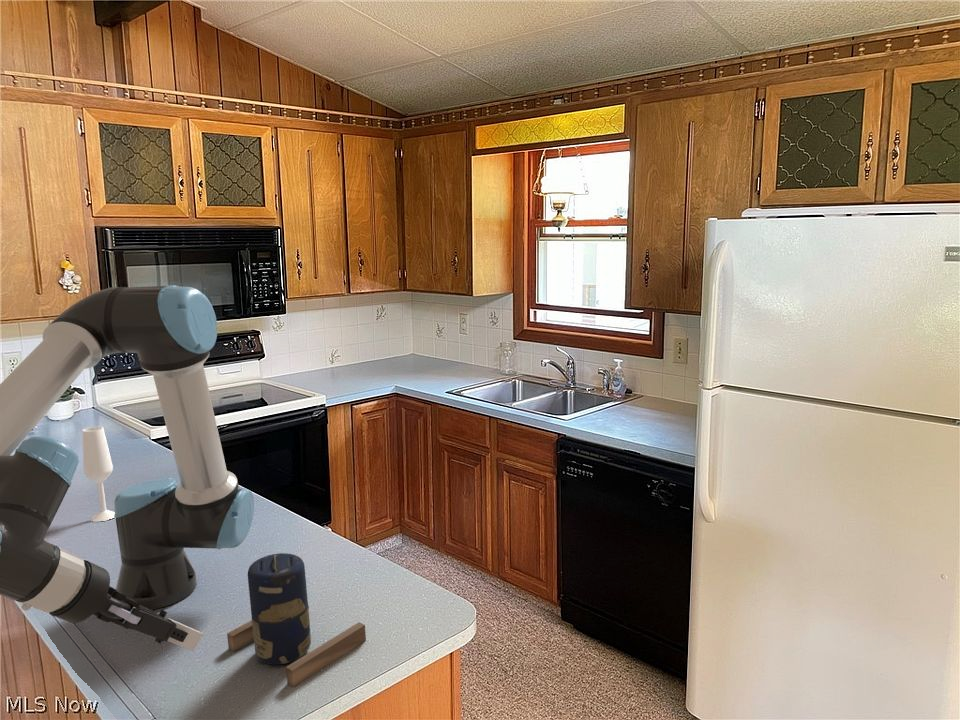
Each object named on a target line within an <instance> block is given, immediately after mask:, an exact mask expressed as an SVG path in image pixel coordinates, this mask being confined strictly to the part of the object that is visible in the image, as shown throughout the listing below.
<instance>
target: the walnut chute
mask: <svg viewBox="0 0 960 720" xmlns="http://www.w3.org/2000/svg"><path fill="white" fill-rule="evenodd" d="M226 636H227V646H228V649H229V650H231V651H232V652H236V651H239V650H240V649H241V648H244V647H245V646H247V645H249V644H251V643H252V642H254V636H253V626H252V619H251V620H249V621H247V622H246V623H244V624H242V625H240V626H238V627H236V628H234V629H233V630H231V631H228V632H226ZM366 641H367V636H366V625H365V624H364V623H362V622H360V621H358V622H357V623H355V624H353V625H352V626H350V627H349V628H347V629H345V630H343V631H342V632H340V633H339V634H337V635H336V636H334V637H332V638H331V639H329V640H327V641H326V642H324V643H323V644H321V645H319V646H318V647H316V648H315V649H312V650H311V651H310V652H308V653H307V654H306V653H305V654H304V655H303V656H301V657H300V658H298V659H296V660H294V661H292V662H291V663H290V664H289V665H287V666H286V667H285V672H286V683H287V684H288V685H289V686H291V687H292V688H295V687H296V686H298V685H299V684H301V683H302V682H304V681H305V680H307V679H308V678H310V677H312V676H313V675H315V674H316V673H318V672H319V671H321V670H322V669H324V668H325V667H327V666H329V665H330V664H332V663H333V662H335V661H336V660H338V659H339V658H341V657H342V656H344V655H346V654H347V653H348V652H350V651H352V650H353V649H355V648H356V647H358V646H359V645H361V644H362V643H364V642H366Z"/></svg>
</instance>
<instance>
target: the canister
mask: <svg viewBox="0 0 960 720" xmlns="http://www.w3.org/2000/svg"><path fill="white" fill-rule="evenodd" d="M306 577H307V576H306V568H305V562H304V560H303V559H302V558H301V557H299V556H298V555H296V554H294V553H293V554H292V553H285V552H284V553H282V552H281V553H280V552H279V553H273V554H269V555H265V556H262V557H261V558H258V559H257V560H255V561H253V563H251V564H250V565H249V567H248V570H247V582H248V593H249V603H250V604H249V606H250V613H251V620H252V626H253V636H254V641H253V644H254V651H255V656H256V657H257V659H258V660H259V661H261V662H263V663H264V664H266V665H284V664H288V663H293V662H295V661H297V660H298V659H300V658H301V657H303V656H305V655H306V653H307V652H308V651H309V649H310V646H311V643H312V642H311V641H312V637H311V636H312V635H311V627H310V626H311V625H310V621H311V620H310V612H309V610H310V606H309V601H308V600H309V599H308V591H307V589H308V588H307V578H306Z"/></svg>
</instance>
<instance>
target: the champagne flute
mask: <svg viewBox="0 0 960 720" xmlns="http://www.w3.org/2000/svg"><path fill="white" fill-rule="evenodd" d="M105 433H106V432H105V428H104V426H98V425H96V426H89V427H86V428H83V429H82V456H83V457H82V458H83V459H82V461H83V475H85V477H86V478H88V479H89V480H91V481H92V482H94V483H97V487H98V496H99V502H100V508H101V509H100V510H101V511H99V512H98V513H96V514H95V515H94V516H93V517H91V518H92V521H106V520H109V519H112V518H114V515H115V511H112V510H109V509H107V504H106V495H105V490H104V489H105V488H104V481H106V480H107V478H109V476H110V475H111V474H112V472H113V470H114V466H113V460H112V457H111V454H110V450H109V445H108V441H107V440H108V439H107V437H106V434H105ZM92 521H91V522H92ZM106 522H107V521H106Z"/></svg>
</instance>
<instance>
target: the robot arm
mask: <svg viewBox="0 0 960 720" xmlns="http://www.w3.org/2000/svg"><path fill="white" fill-rule="evenodd" d="M217 329H218V323H217V316H216V312H215V310H214V307H213V305H212V303H211V302H210V300H209V299H208V297H207V296H206V295H205V294H204V293H202V291H200V290H198V289H197V288H195V287H191V286H178V285H176V284H175V285H157V286H156V285H154V286H130V287H129V286H113V287H108V288H105V289H101V290H98V291H95V292H94V293H92V294H89V295H87V296H85V297H83V298H82V299H80V300H78V301H77V302H75V303H74V304H72V305H71V306H70V307H68V308H67V309H65V310H64V311H62V312H61V313H60V314H59V315H58V316H57V317H56V318H54V320H52V321H50V323H49V324H48V325H47V326H46V327H45V329H44V330H43V333H42V340H41V342H40V343H39V344H38V345H37V346H36V347H35V348H34V349H33V350H32V351H31V352H30V353H29V354H28V355H27V356H26V357H25V358H24V359H23V360H22V361H21V362H20V363H19V364H18V365H17V366H16V368H14V370H12V372H11V373H9V375H8V376H7V377H6V378H5V379H4V380H3V381H2V382H1V383H0V596H2V597H4V598H6V599H7V598H8V599H10V600H12V601H15V602H18V603H21V604H22V605H21V609H22V611H29V610H30V609H31V608H33V609H35V610H39V611H41V612H44V613H48V614H49V615H50V616H52V617H56V618H58V619H60V620H63V621H65V622H67V623H71V624H79V623H82V622H84V621H86V620H87V619H90V617H92V615H94V616H96V618H97V619H98V620H101V621H102V622H105V623H113V624H116V625H117V626H120V627H124V628H125V629H127V630H133V631H136V632H140V633H142V634H144V635H147V636H151V637H153V638H155V639H154V641H155V642H156V643H158V644H160V645H161V644H162V642H170V643H172V644H175V645H177V646H179V647H182V648H184V649H186V650H188V651H192V652H194V650H195V649H196V647H197V645H198V644H199V642H200V641H201V639H202V637H203V636H204V634H203V633H202V632H201V631H199V630H197V629H195V628H192V627H190V626H187V625H186V624H184V623H181V622H179V621H176V620H173V619H171V618H169V617H166V616H167V614H168V611H166V610H164V609H161V608H165V607H167V606H171V605H174V604H175V603H178V602H180V601H182V600H184V599H185V598H187V597H189V595H191V594H192V593H193V592H194V591H195V589H196V587H197V584H198V583H197V574H196V571H195V569H194V567H193V565H192V563H191V562H190V561H191V560H190V559H189V558H188V555H187V553H186V551H185V549H216V550H221V549H235V548H237V547H239V546H240V545H242V544H243V542H245V540H246V538H247V536H248V534H249V532H250V531H251V530H250V529H251V527H252V523H253V519H254V514H255V499H254V494H253V492H252V491H251V490H249V489H247V488H245V487H243V488H240V485H239V481H238V478H237V476H236V474H234V473H233V472H231V471H229V470H227V466H226V465H227V464H226V462H225V456H224V452H223V448H222V443H221V437H220V434H219V430H218V425H217V420H216V416H215V412H214V407H213V404H212V403H213V402H212V399H211V394H210V389H209V385H208V381H207V380H208V379H207V375H206V371H205V367H204V363H205V362H206V361H207V360H208V358H209V357H210V351H211V350H212V349H213V348H214V346H215V345H216V343H217V342H216V341H217V337H218V333H217ZM119 353H121V354H122V353H124V354H137V357H138V360H139V364H140V367H141V369H142V370H143V371H145V372H147V373H149V374H151V375H152V376H153V381H154V385H155V389H156V392H157V395H158V400H159V403H160V404H159V405H160V408H161V411H162V415H163V419H164V423H165V427H166V430H167V435H168V437H169V438H168V439H169V443H170V447H171V450H172V454H173V459H174V462H175V467H176V469H177V474H178V478H179V482H180V483H177V480H176V479H174V478H172V477H158V478H153V479H149V480H148V479H147V480H145V481H142V482H138V483H136V484H133V485H130V486H128V487H126V488H124V489H123V490H121V491H120V492H119V493H118V494H117V495H116V496H115V498H114V501H113V502H114V512H115V515H114V517H115V525H116V532H117V538H118V539H117V540H118V546H119V553H120V560H121V561H120V562H121V565H120V569H119V574H118V578H117V582H116V587H115V588H114V587H112V586H111V585H110V583H111V577H110V573H109V572H108V570H107V569H105V568H104V567H102V566H100V565H97V564H95V563H93V562H91V561H89V560H85V559H84V558H82V557H81V556H80V555H76V554H75V553H72V552H71V551H68V550H66V549H64V548H63V547H60V546H58V545H55V544H52V543H50V542H48V541H46V540H45V538H46V535H47V533H48V530H49V529H50V527H51V525H52V522H53V521H54V518H55V517H56V515H57V512H58V510H59V509H60V506H61V505H62V502H63V501H64V498H65V496H66V495H67V493H68V490H69V488H70V487H71V485H72V480H73V477H74V476H75V473H76V471H77V467H78V466H79V462H80V460H79V455H78V454H77V452H76V451H75V450H73V449H72V447H71V446H70V445H68V444H66V443H65V442H63V441H61V440H58V439H55V438H51V437H46V436H31V437H29V438H27V436H28V435H29V434H30V433H31V432H32V430H34V429H35V427H36V426H37V425H38V424H39V423H40V421H41V420H42V419H43V418H44V417H45V415H47V413H48V412H49V411H50V410H51V408H52V407H53V406H54V405H55V404H56V403H57V401H59V399H60V398H61V397H62V395H64V394H65V392H66V391H67V390H68V389H69V388H70V387H71V385H72V384H74V382H75V380H76V379H77V378H78V377H79V376H80V374H82V372H83V371H84V370H85V369H87V370H88V369H90V368H91V369H92V368H94V367H95V366H97V365H98V364H99V362H100V361H101V360H102V359H104V358H105V357H107V356H110V355H114V354H119ZM26 438H27V439H26ZM13 453H14V454H13ZM12 454H13V455H12ZM157 609H161V610H160V612H159V613H157V612H156V611H154V610H157ZM165 617H166V618H165Z"/></svg>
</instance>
